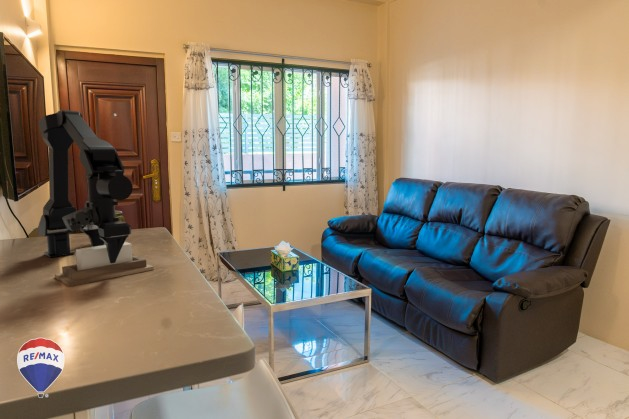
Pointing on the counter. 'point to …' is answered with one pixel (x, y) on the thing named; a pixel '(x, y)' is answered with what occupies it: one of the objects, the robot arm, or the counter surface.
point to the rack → (102, 271)
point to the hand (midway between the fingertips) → (105, 259)
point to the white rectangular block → (101, 256)
